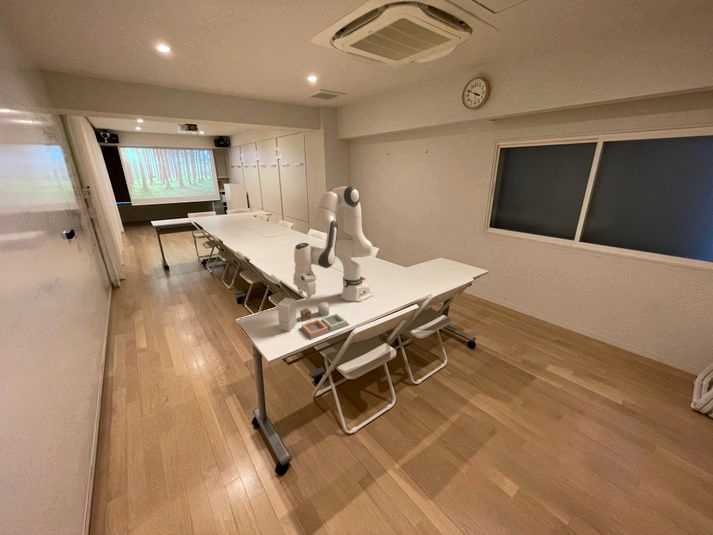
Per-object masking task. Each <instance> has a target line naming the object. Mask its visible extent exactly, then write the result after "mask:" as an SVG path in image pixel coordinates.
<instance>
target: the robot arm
mask: <svg viewBox="0 0 713 535" xmlns="http://www.w3.org/2000/svg"><path fill="white" fill-rule="evenodd" d="M360 198H361V195H360V190H359V189H358V188H357V187H355V186H351V185H350V186H340V187H334V188H333V187H332V188H331V189H329V190H328V191H326V192H324V193H323V194H322V197H321V198H320V200H319V202H318V205H317V208H316V211H315V220H316V222H317V223H318V225H319V226H320V227H322V228H324V229H325V231H326V242H325V247H324V248H321V247H317V246H312V245H311V244H309V243H307V242H300V243H298V244H296V245H295V248H294V251H293V257H294V258H293V259H294V264H295V267H294V273H293V285H294V286H296V288H297V291H298V295H303V294H304V293H306V297H305V299H306V300H307V301H311V297H312V296H314V295H315V294H316V292H317V284H316V280H317V276H316V275H315V273H314V271H313V269H312V265H314V266H319V267H322V268H324V269H329V268H331V267H332V266H333V265H334V263H335V261H336V258H337V259H338V260H339V261H340V263H341V265H342V270H343V276H342V286H343V287H342V291H341V295H340V297H341V299H342V300H344V301H347V302H355V303H357V302H358V303H361V302H363V301H365V300H366V299H369V298H371V297H374V292H373V291H372V290H371V288H370V286H369V285H368V284H367V283H366V282H364V281H366V277H365V276H361V271H362V270H361V269H362V266H361V265H360V264H359V263H358V262H357V261H355V260H353V259H352V258H365V257H366V258H367V257H371V255H372V254H373V251H374V246H373V244H372V243H371V241H369V239H367V238H366V236H365V234H364V232H363V226H362V216H363V215H362V206H361V202H360ZM339 207H343V230H344V232H345V233H346V234H348V235H350V236H351V237H353V239H342V240H338V233H339V232H338V230H339V225H338V222H337V220H336V217H337V212H338V209H339ZM303 292H304V293H303Z"/></svg>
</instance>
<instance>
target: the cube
mask: <svg viewBox="0 0 713 535" xmlns="http://www.w3.org/2000/svg"><path fill="white" fill-rule="evenodd" d="M299 311H300V312H299V313H300V319H301V320H302V321H304V322H306V321H310V320H312V310H310V309H309V308H308V307H306V308H303V309H300V310H299Z"/></svg>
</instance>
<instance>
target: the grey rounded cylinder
mask: <svg viewBox="0 0 713 535" xmlns="http://www.w3.org/2000/svg"><path fill="white" fill-rule="evenodd" d="M317 312H318V314H317V315H318V316H319V317H327V316H330V304H329V302H327V301H321V302H318V304H317Z"/></svg>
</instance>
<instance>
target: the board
mask: <svg viewBox="0 0 713 535" xmlns="http://www.w3.org/2000/svg"><path fill="white" fill-rule="evenodd" d="M347 321H348V320H346V319H345V318H344V317H343V316H341V315H340V314H339V313H334V314H331V315H330V314H329V315H327V316H323V317H321V320H320V319H316V320H312V321H310V322H307V323H304V324H301V327H299V330H300V331H301V332H302V333H303V334H304V335H305V336H306V338H308V339H309V340H313V339H316V338H318V337H321V336H324V335H327V334H329V333H332V332H334V331H337V330H339V329H342V328H343V329H344V328H345V327H347V326H350V323H348V322H347Z"/></svg>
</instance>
